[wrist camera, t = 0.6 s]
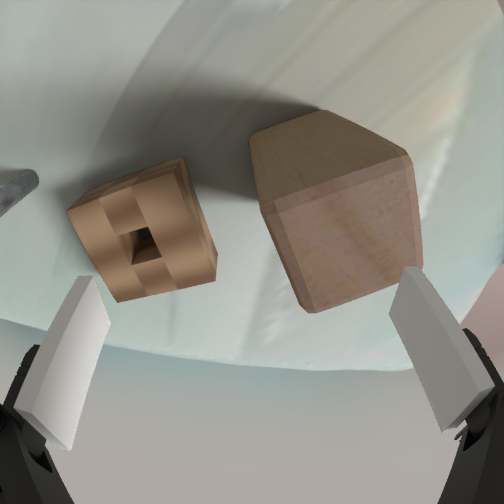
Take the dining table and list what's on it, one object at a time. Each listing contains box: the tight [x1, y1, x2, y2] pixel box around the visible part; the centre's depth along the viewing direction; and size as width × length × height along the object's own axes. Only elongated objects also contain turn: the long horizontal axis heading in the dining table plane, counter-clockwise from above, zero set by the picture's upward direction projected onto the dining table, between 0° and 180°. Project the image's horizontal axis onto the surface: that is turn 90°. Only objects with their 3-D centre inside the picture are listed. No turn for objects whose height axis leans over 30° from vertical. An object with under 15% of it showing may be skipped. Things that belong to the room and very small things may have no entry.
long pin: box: [0, 170, 39, 217], centre depth 29 cm, size 3×3×14 cm
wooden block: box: [249, 110, 423, 313], centre depth 27 cm, size 10×10×20 cm
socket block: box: [66, 157, 218, 303], centre depth 37 cm, size 14×14×6 cm
